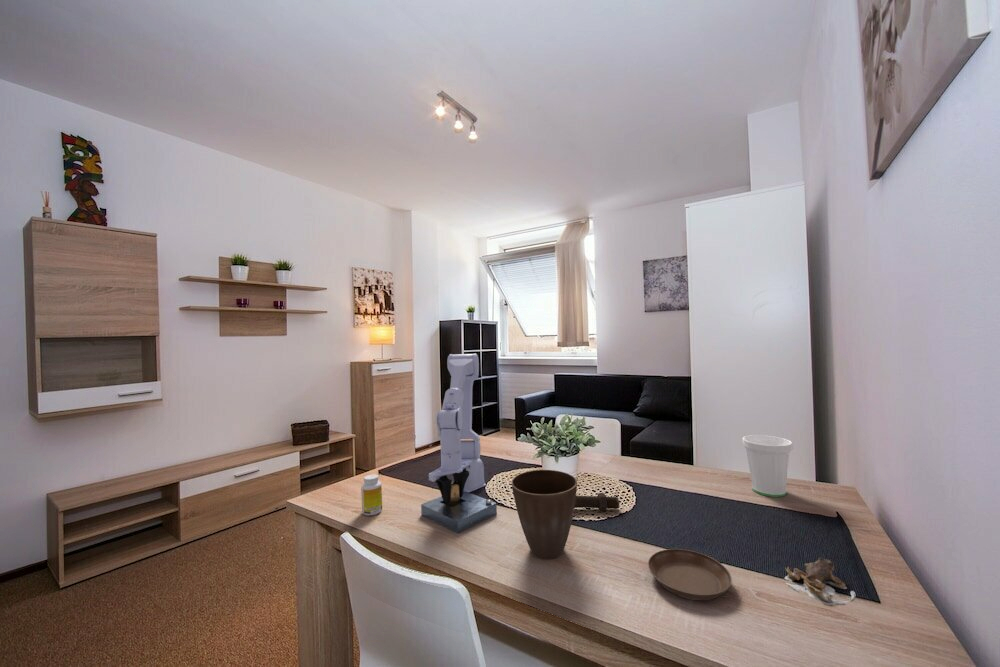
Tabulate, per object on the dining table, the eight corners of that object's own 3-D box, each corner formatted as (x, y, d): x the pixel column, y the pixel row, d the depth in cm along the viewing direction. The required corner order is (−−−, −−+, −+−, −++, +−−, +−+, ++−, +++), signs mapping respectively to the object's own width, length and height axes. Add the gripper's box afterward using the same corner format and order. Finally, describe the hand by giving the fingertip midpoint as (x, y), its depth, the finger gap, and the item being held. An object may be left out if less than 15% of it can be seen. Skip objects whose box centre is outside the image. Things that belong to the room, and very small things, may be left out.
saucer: (693, 619, 68) (692, 603, 68) (632, 573, 82) (632, 559, 82) (750, 593, 74) (749, 578, 74) (684, 554, 88) (684, 542, 88)
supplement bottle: (385, 512, 114) (384, 476, 114) (366, 518, 111) (365, 481, 111) (377, 506, 119) (376, 472, 119) (359, 511, 115) (358, 476, 115)
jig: (459, 498, 122) (459, 486, 122) (496, 513, 110) (496, 500, 110) (421, 515, 112) (420, 501, 112) (458, 533, 100) (457, 518, 100)
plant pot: (573, 575, 81) (570, 497, 81) (505, 563, 86) (502, 490, 86) (584, 538, 95) (581, 472, 95) (524, 530, 100) (522, 467, 100)
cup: (746, 480, 127) (744, 433, 127) (794, 488, 120) (792, 437, 120) (742, 494, 117) (740, 442, 117) (795, 503, 109) (792, 448, 109)
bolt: (619, 517, 109) (564, 515, 111) (616, 501, 114) (563, 500, 115) (621, 504, 106) (564, 502, 108) (617, 488, 111) (563, 486, 112)
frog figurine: (796, 560, 84) (796, 542, 84) (869, 592, 73) (868, 571, 73) (765, 578, 79) (764, 558, 79) (838, 614, 68) (837, 592, 68)
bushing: (453, 503, 116) (452, 479, 116) (463, 507, 113) (462, 482, 113) (443, 508, 113) (442, 484, 113) (452, 512, 110) (451, 487, 110)
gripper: (439, 460, 105) (441, 512, 105) (479, 447, 115) (481, 494, 115) (423, 455, 110) (425, 504, 110) (463, 443, 120) (465, 488, 120)
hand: (452, 499), depth 113 cm, fingers open, 4 cm apart
